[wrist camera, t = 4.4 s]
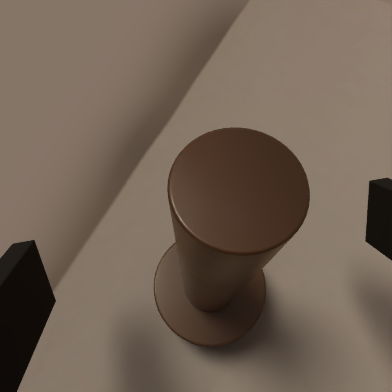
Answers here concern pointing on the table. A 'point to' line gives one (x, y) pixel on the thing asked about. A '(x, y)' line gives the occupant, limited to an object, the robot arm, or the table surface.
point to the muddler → (226, 231)
